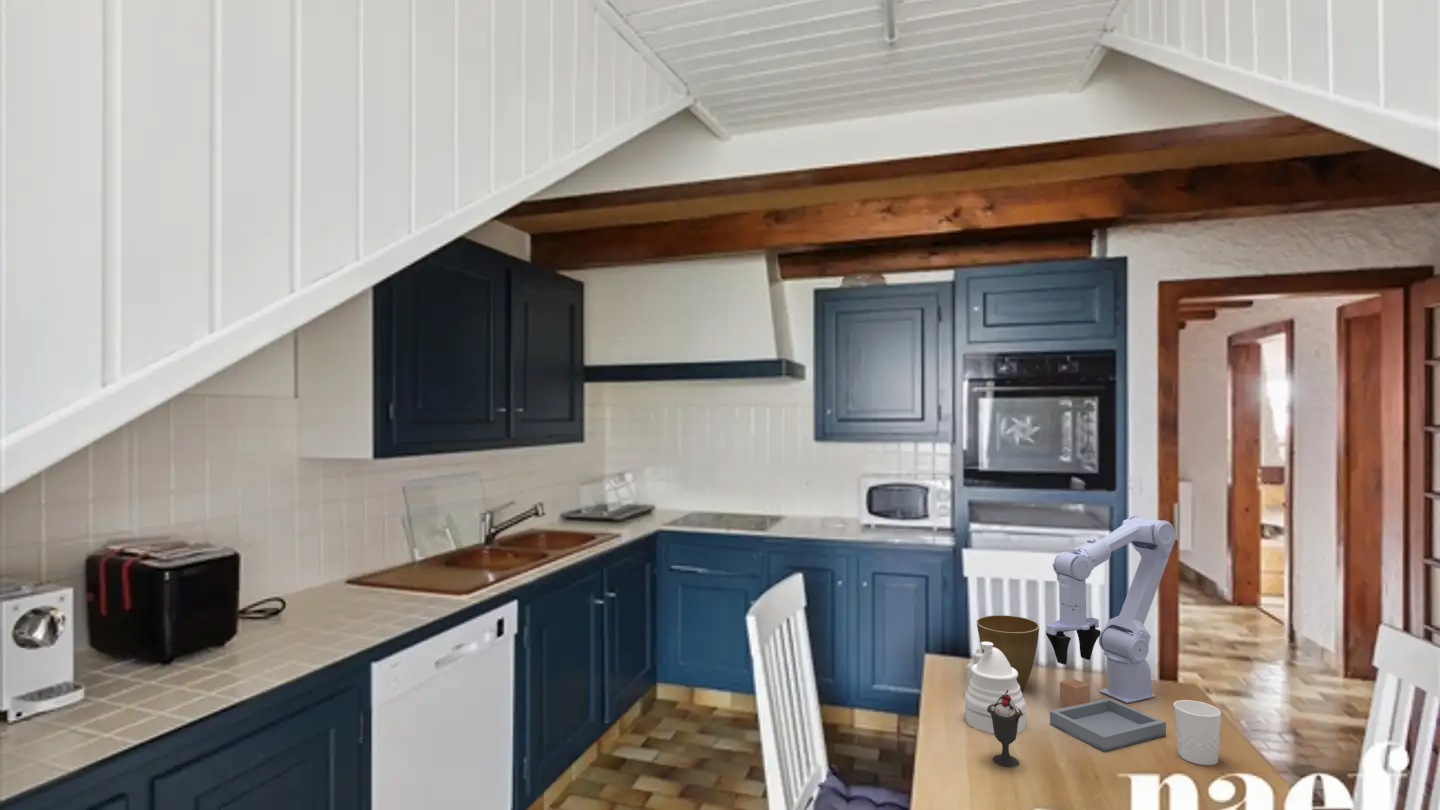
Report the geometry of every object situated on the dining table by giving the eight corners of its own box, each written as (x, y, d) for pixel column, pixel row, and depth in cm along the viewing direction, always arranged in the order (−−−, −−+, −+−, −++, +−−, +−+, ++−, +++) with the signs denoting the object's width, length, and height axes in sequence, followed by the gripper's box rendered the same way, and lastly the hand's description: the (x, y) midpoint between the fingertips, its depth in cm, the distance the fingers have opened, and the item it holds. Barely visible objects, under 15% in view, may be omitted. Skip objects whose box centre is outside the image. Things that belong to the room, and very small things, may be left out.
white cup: (1214, 751, 146) (1213, 702, 146) (1227, 770, 139) (1226, 718, 139) (1170, 746, 149) (1169, 697, 149) (1180, 764, 141) (1179, 713, 141)
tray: (1109, 710, 166) (1108, 697, 166) (1166, 735, 153) (1165, 722, 153) (1050, 724, 160) (1049, 711, 160) (1104, 752, 147) (1104, 737, 147)
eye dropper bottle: (977, 692, 178) (976, 643, 179) (994, 700, 173) (993, 650, 173) (964, 695, 177) (963, 646, 177) (981, 703, 171) (980, 653, 172)
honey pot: (995, 739, 153) (993, 655, 153) (953, 716, 165) (951, 638, 165) (1039, 727, 158) (1037, 646, 158) (995, 706, 170) (994, 630, 170)
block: (1074, 699, 173) (1073, 678, 173) (1089, 706, 169) (1089, 685, 169) (1060, 702, 172) (1059, 681, 172) (1075, 709, 167) (1075, 688, 167)
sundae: (1008, 772, 139) (1006, 695, 139) (981, 758, 145) (979, 683, 145) (1031, 764, 142) (1029, 688, 142) (1003, 750, 148) (1002, 677, 148)
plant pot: (1008, 671, 192) (1007, 611, 192) (1054, 691, 178) (1052, 626, 178) (965, 680, 186) (963, 619, 186) (1008, 701, 172) (1007, 635, 172)
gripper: (1063, 611, 164) (1064, 671, 164) (1109, 604, 169) (1110, 661, 169) (1039, 604, 170) (1040, 661, 170) (1084, 597, 176) (1085, 652, 176)
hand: (1073, 660), depth 170 cm, fingers open, 7 cm apart
